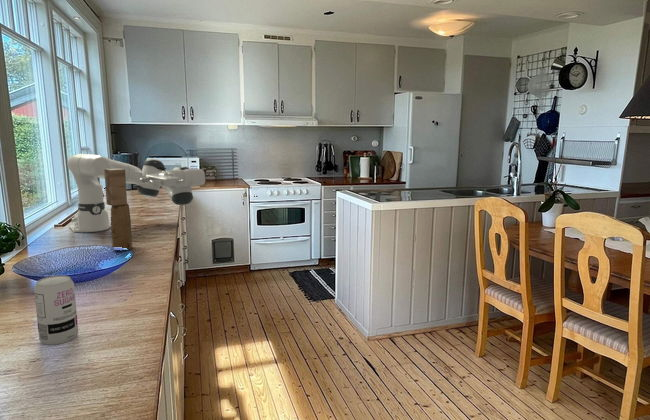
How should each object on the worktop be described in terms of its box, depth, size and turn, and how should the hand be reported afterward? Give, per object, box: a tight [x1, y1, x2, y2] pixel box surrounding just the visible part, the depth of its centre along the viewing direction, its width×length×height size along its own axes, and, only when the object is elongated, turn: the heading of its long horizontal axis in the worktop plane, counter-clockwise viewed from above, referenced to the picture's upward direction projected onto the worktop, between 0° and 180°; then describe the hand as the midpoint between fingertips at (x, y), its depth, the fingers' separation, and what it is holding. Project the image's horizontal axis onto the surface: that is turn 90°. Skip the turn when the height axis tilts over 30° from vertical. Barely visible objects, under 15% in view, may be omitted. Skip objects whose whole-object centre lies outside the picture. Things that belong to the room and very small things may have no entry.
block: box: [110, 202, 133, 250], centre depth 183 cm, size 11×8×20 cm
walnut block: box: [104, 169, 128, 207], centre depth 179 cm, size 6×6×15 cm
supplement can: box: [33, 275, 79, 346], centre depth 103 cm, size 8×8×15 cm
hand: (145, 181), depth 187 cm, fingers open, 8 cm apart
